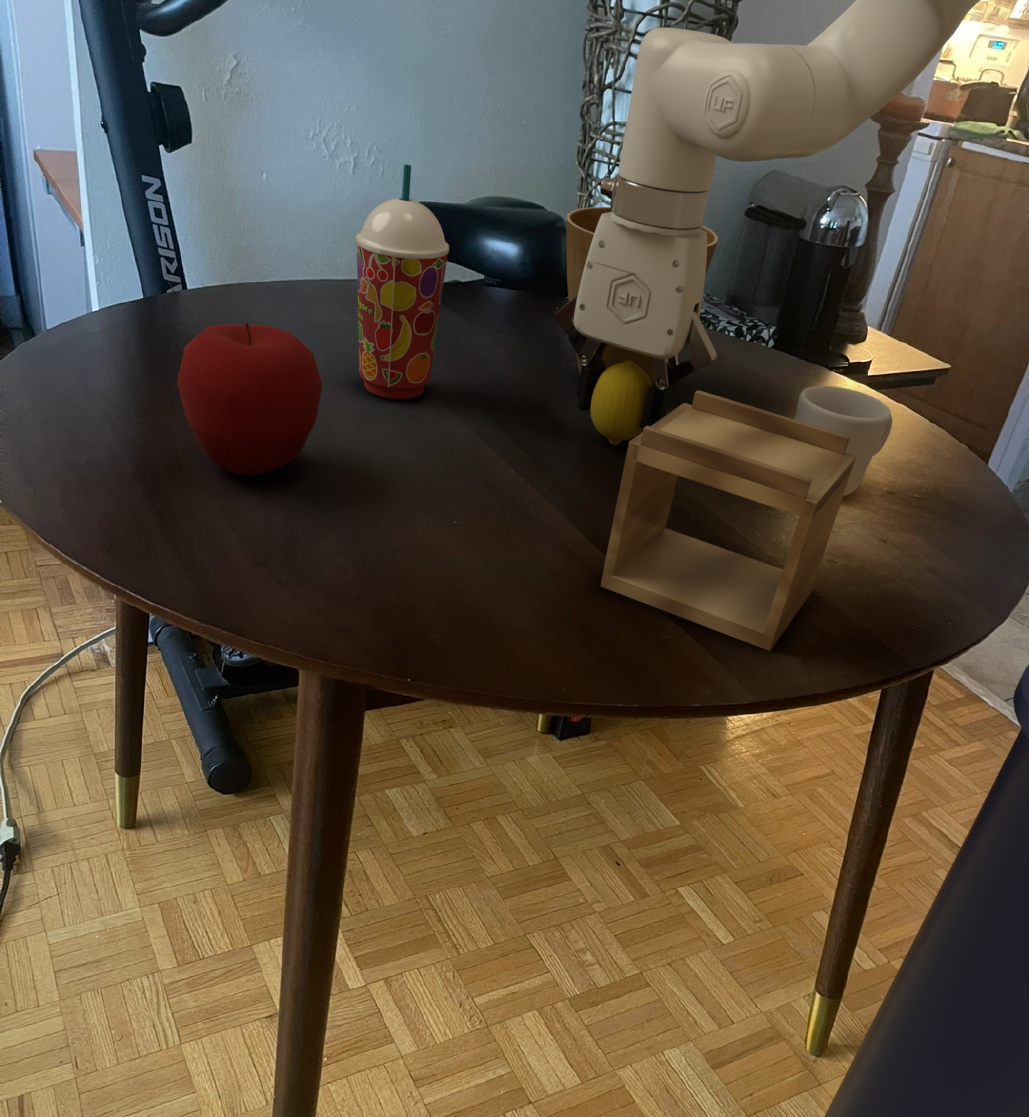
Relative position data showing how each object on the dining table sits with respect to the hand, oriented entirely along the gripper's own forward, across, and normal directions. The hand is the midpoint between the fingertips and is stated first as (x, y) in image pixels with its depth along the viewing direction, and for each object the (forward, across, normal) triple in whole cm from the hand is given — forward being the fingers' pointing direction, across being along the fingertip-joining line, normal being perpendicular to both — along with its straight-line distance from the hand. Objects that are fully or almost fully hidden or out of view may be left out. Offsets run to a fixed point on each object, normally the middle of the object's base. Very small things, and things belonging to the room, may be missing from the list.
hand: (619, 414), depth 98 cm
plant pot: (+3, -7, +15) cm, 17 cm away
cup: (+3, +19, +7) cm, 20 cm away
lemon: (+3, 0, 0) cm, 3 cm away
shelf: (+3, +17, -20) cm, 26 cm away
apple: (+3, -20, -27) cm, 34 cm away
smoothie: (+3, -22, -4) cm, 23 cm away
